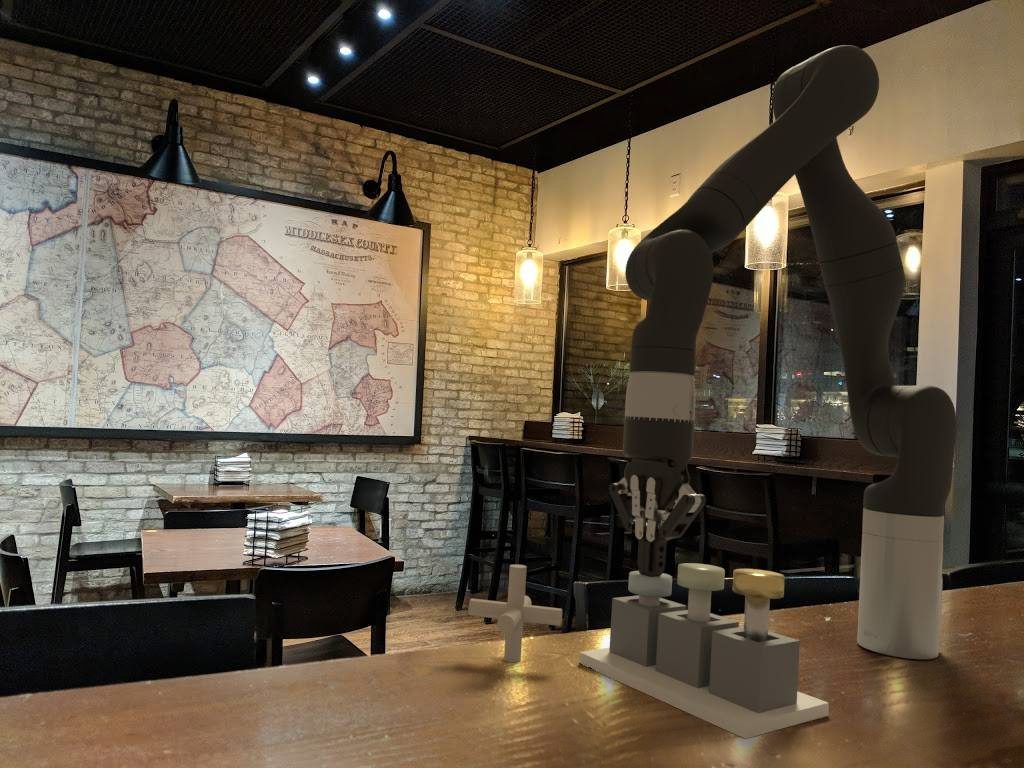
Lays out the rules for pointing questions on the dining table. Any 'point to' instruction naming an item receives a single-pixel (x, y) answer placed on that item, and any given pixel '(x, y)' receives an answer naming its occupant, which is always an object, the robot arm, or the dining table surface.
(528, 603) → the pipe connector
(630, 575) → the slate plug
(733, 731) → the socket board
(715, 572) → the sage plug
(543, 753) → the dining table surface
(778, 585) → the brass plug
